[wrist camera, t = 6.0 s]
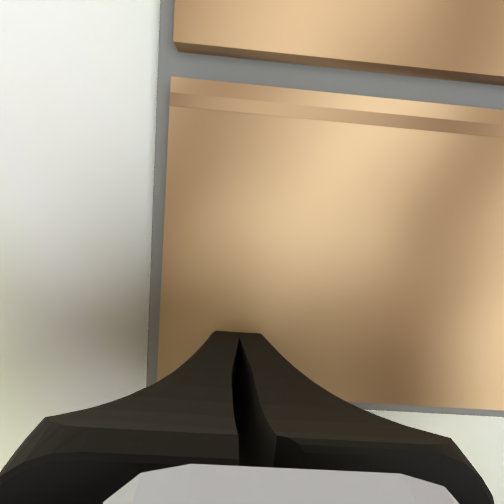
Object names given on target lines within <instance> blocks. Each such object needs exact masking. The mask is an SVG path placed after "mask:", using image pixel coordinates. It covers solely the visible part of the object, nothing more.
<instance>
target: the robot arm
mask: <svg viewBox="0 0 504 504" xmlns="http://www.w3.org/2000/svg"><path fill="white" fill-rule="evenodd" d="M0 504H494V500H493V496H492V494H491V492H490V491H489V489H488V487H487V486H486V484H485V482H484V481H483V479H482V477H481V476H480V475H479V474H478V472H477V471H476V470H475V468H474V467H473V466H472V464H471V463H470V462H469V461H468V459H467V458H466V457H465V455H464V454H463V453H462V452H461V450H460V449H459V448H458V446H457V445H456V444H455V443H454V442H453V440H452V439H451V438H448V437H444V436H441V435H437V434H433V433H430V432H426V431H422V430H419V429H415V428H411V427H408V426H405V425H402V424H399V423H396V422H393V421H390V420H388V419H385V418H382V417H380V416H377V415H375V414H372V413H370V412H367V411H365V410H363V409H361V408H359V407H357V406H355V405H353V404H351V403H349V402H346V401H344V400H342V399H341V398H339V397H337V396H335V395H333V394H332V393H330V392H329V391H327V390H325V389H324V388H322V387H321V386H319V385H318V384H316V383H315V382H313V381H312V380H310V379H309V378H308V377H306V376H305V375H304V374H303V373H301V372H300V371H299V370H298V369H296V368H295V367H294V366H293V365H292V364H291V363H290V362H288V361H287V360H286V359H285V358H284V357H283V356H282V355H281V354H280V353H279V352H278V351H277V350H276V349H275V348H274V347H273V346H272V345H271V344H270V343H269V341H268V340H267V339H266V338H265V337H264V336H263V335H262V334H261V333H244V332H229V331H214V332H213V333H212V334H211V335H210V336H209V338H208V339H207V340H206V341H205V343H204V344H203V345H202V346H201V347H200V348H199V349H198V350H197V351H196V352H195V353H194V354H193V355H192V356H191V357H190V358H189V359H188V360H187V361H186V362H185V363H183V364H182V365H181V366H180V367H179V368H177V369H176V370H175V371H174V372H172V373H171V374H169V375H168V376H166V377H164V378H163V379H161V380H160V381H158V382H156V383H154V384H152V385H150V386H148V387H146V388H144V389H142V390H140V391H137V392H135V393H133V394H131V395H129V396H126V397H124V398H121V399H118V400H115V401H112V402H109V403H106V404H103V405H100V406H96V407H92V408H89V409H85V410H80V411H75V412H70V413H66V414H61V415H56V416H50V417H45V418H44V419H43V420H42V421H41V422H40V424H39V425H38V426H37V427H36V428H35V429H34V430H33V431H32V432H31V433H30V435H29V436H28V437H27V438H26V439H25V440H24V442H23V443H22V444H21V445H20V447H19V448H18V449H17V450H16V452H15V453H14V454H13V456H12V457H11V458H10V460H9V461H8V462H7V464H6V465H5V466H4V468H3V469H2V471H1V472H0Z"/></svg>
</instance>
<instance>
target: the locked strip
mask: <svg viewBox="0 0 504 504" xmlns="http://www.w3.org/2000/svg"><path fill="white" fill-rule="evenodd" d="M173 42H174V44H175V46H176V48H177V50H178V52H184V53H194V54H204V55H213V56H223V57H232V58H242V59H251V60H261V61H271V62H280V63H290V64H299V65H309V66H318V67H328V68H337V69H347V70H357V71H366V72H376V73H385V74H395V75H404V76H414V77H424V78H433V79H443V80H452V81H462V82H471V83H481V84H490V85H500V86H504V0H175V10H174V33H173Z"/></svg>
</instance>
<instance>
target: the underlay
mask: <svg viewBox="0 0 504 504" xmlns="http://www.w3.org/2000/svg"><path fill="white" fill-rule="evenodd" d="M174 10H175V0H161V3H160V30H159V58H158V85H157V112H156V140H155V167H154V194H153V222H152V249H151V277H150V304H149V331H148V359H147V386H146V387H148V386H150V385H152V384H154V383H156V382H157V365H158V344H159V322H160V301H161V279H162V258H163V236H164V215H165V193H166V172H167V150H168V129H169V108H170V106H169V105H170V86H171V76H172V77H182V78H192V79H202V80H212V81H222V82H231V83H241V84H251V85H261V86H271V87H281V88H291V89H301V90H311V91H321V92H331V93H340V94H350V95H360V96H370V97H380V98H390V99H400V100H410V101H420V102H430V103H439V104H449V105H459V106H469V107H479V108H489V109H499V110H504V86H500V85H490V84H481V83H471V82H462V81H452V80H443V79H433V78H424V77H414V76H404V75H395V74H385V73H376V72H366V71H357V70H347V69H337V68H328V67H318V66H309V65H299V64H290V63H280V62H271V61H261V60H251V59H242V58H232V57H223V56H213V55H204V54H194V53H184V52H178V50H177V48H176V46H175V44H174V42H173V33H174ZM349 403H351V404H353V405H355V406H357V407H359V408H361V409H369V410H387V411H405V412H423V413H441V414H460V415H478V416H496V417H504V411H503V410H485V409H467V408H450V407H432V406H414V405H396V404H378V403H360V402H349Z"/></svg>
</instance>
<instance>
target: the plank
mask: <svg viewBox="0 0 504 504" xmlns="http://www.w3.org/2000/svg"><path fill="white" fill-rule="evenodd" d="M169 106H170V108H169V129H168V150H167V172H166V193H165V215H164V236H163V258H162V279H161V301H160V322H159V344H158V365H157V382H158V381H160V380H161V379H163V378H164V377H166V376H168V375H169V374H171V373H172V372H174V371H175V370H176V369H177V368H179V367H180V366H181V365H182V364H183V363H185V362H186V361H187V360H188V359H189V358H190V357H191V356H192V355H193V354H194V353H195V352H196V351H197V350H198V349H199V348H200V347H201V346H202V345H203V344H204V343H205V341H206V340H207V339H208V338H209V336H210V335H211V334H212V333H213V332H214V331H229V332H244V333H261V334H262V335H263V336H264V337H265V338H266V339H267V340H268V341H269V343H270V344H271V345H272V346H273V347H274V348H275V349H276V350H277V351H278V352H279V353H280V354H281V355H282V356H283V357H284V358H285V359H286V360H287V361H288V362H290V363H291V364H292V365H293V366H294V367H295V368H296V369H298V370H299V371H300V372H301V373H303V374H304V375H305V376H306V377H308V378H309V379H310V380H312V381H313V382H315V383H316V384H318V385H319V386H321V387H322V388H324V389H325V390H327V391H329V392H330V393H332V394H333V395H335V396H337V397H339V398H341V399H342V400H344V401H346V402H360V403H378V404H396V405H414V406H432V407H450V408H467V409H485V410H503V411H504V110H499V109H489V108H479V107H469V106H459V105H449V104H439V103H430V102H420V101H410V100H400V99H390V98H380V97H370V96H360V95H350V94H340V93H331V92H321V91H311V90H301V89H291V88H281V87H271V86H261V85H251V84H241V83H231V82H222V81H212V80H202V79H192V78H182V77H172V76H171V86H170V105H169Z"/></svg>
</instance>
